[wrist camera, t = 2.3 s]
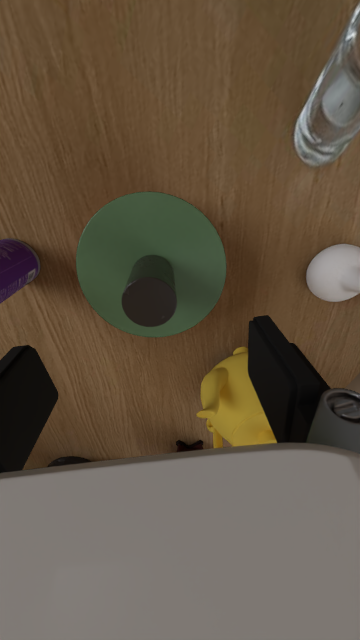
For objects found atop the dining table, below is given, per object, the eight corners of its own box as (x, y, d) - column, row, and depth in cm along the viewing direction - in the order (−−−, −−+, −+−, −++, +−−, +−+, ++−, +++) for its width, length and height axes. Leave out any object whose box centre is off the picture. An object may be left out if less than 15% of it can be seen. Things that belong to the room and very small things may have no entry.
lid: (48, 258, 20) (1, 288, 14) (165, 151, 17) (165, 134, 11) (145, 351, 26) (140, 400, 20) (248, 282, 22) (278, 317, 17)
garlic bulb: (333, 300, 30) (384, 335, 23) (291, 285, 29) (332, 317, 22) (368, 252, 27) (437, 275, 20) (323, 233, 26) (381, 251, 19)
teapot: (153, 381, 35) (149, 459, 25) (220, 307, 30) (248, 370, 20) (249, 428, 42) (275, 505, 32) (318, 375, 36) (376, 447, 26)
